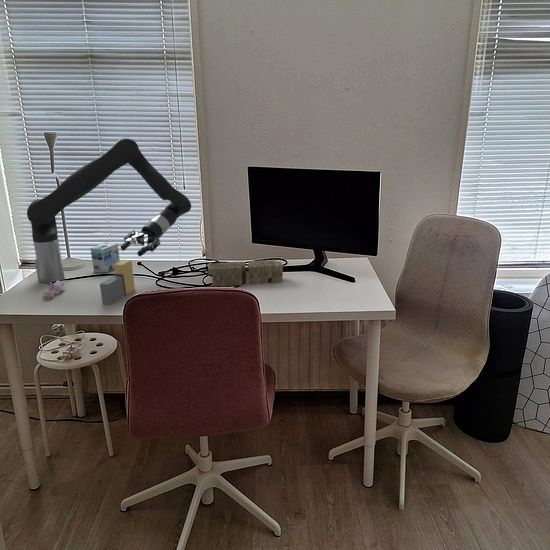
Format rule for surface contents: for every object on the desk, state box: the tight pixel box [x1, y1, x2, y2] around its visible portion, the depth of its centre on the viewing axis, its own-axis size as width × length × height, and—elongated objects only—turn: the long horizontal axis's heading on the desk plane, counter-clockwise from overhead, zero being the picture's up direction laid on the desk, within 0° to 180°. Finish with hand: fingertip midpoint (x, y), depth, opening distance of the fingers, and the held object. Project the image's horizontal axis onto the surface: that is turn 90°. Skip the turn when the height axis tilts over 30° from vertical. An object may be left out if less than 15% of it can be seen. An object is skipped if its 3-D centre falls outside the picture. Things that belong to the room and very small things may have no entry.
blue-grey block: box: [99, 273, 127, 306], centre depth 181 cm, size 10×4×8 cm, turn 163°
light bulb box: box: [90, 241, 121, 273], centre depth 216 cm, size 11×7×11 cm, turn 160°
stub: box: [114, 259, 136, 296], centre depth 188 cm, size 6×4×12 cm, turn 163°
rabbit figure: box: [41, 280, 67, 302], centre depth 189 cm, size 6×6×15 cm
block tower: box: [207, 259, 284, 287], centre depth 198 cm, size 8×8×29 cm
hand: (130, 251), depth 192 cm, fingers open, 8 cm apart
